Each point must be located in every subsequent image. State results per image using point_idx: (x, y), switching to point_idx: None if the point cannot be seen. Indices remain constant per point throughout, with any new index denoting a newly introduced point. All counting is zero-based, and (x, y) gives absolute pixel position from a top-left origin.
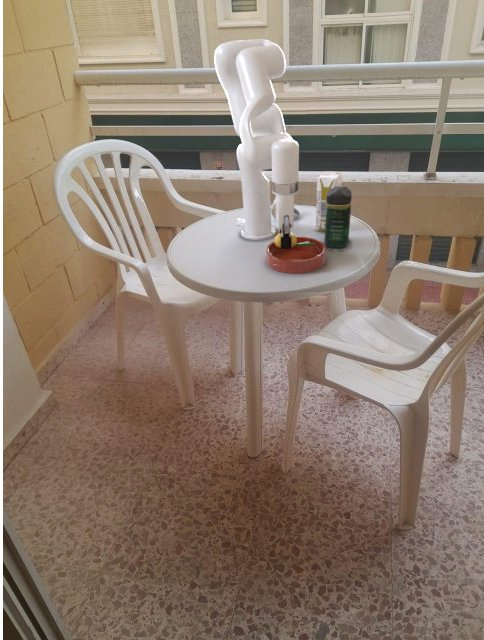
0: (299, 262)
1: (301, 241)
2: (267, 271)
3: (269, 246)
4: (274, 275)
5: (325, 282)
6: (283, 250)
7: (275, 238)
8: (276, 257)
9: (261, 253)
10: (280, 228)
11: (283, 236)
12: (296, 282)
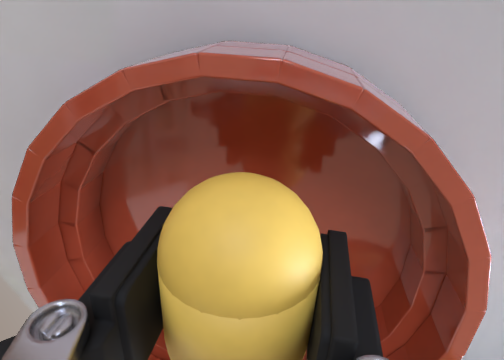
0: (25, 267)
1: (416, 343)
2: (123, 32)
3: (326, 100)
4: (68, 77)
5: (25, 297)
6: (407, 197)
7: (208, 214)
8: (316, 128)
9: (470, 6)
10: (382, 358)
11: (71, 329)
12: (3, 187)
